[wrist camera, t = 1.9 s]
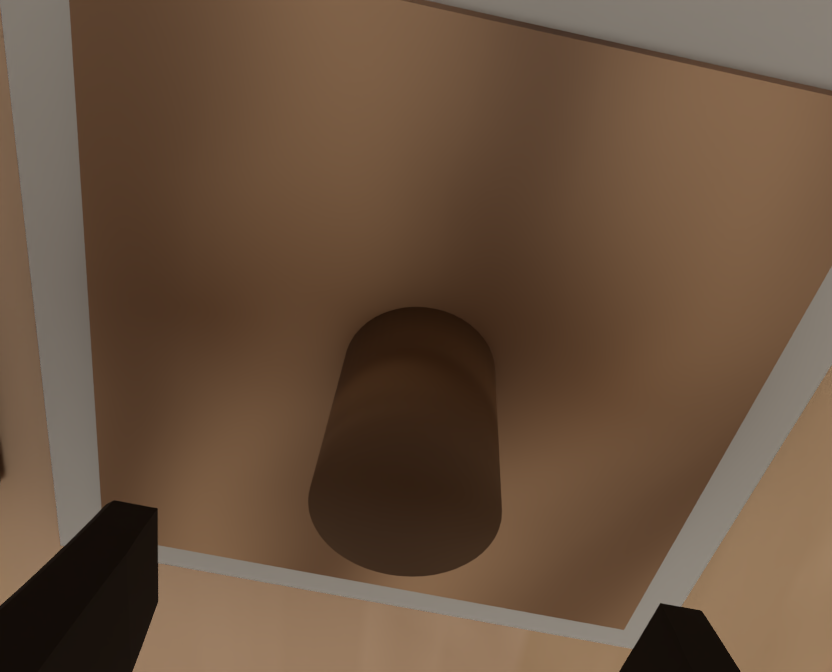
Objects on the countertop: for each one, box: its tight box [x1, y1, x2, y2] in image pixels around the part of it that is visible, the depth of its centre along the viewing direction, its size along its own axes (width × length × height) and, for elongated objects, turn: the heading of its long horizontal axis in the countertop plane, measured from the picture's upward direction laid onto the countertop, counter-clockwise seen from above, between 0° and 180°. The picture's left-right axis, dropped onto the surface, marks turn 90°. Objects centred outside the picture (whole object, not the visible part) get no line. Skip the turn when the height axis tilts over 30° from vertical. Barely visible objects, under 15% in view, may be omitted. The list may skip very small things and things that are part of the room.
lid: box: [69, 0, 832, 630], centre depth 14 cm, size 14×14×5 cm
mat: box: [0, 0, 832, 649], centre depth 16 cm, size 17×17×1 cm
